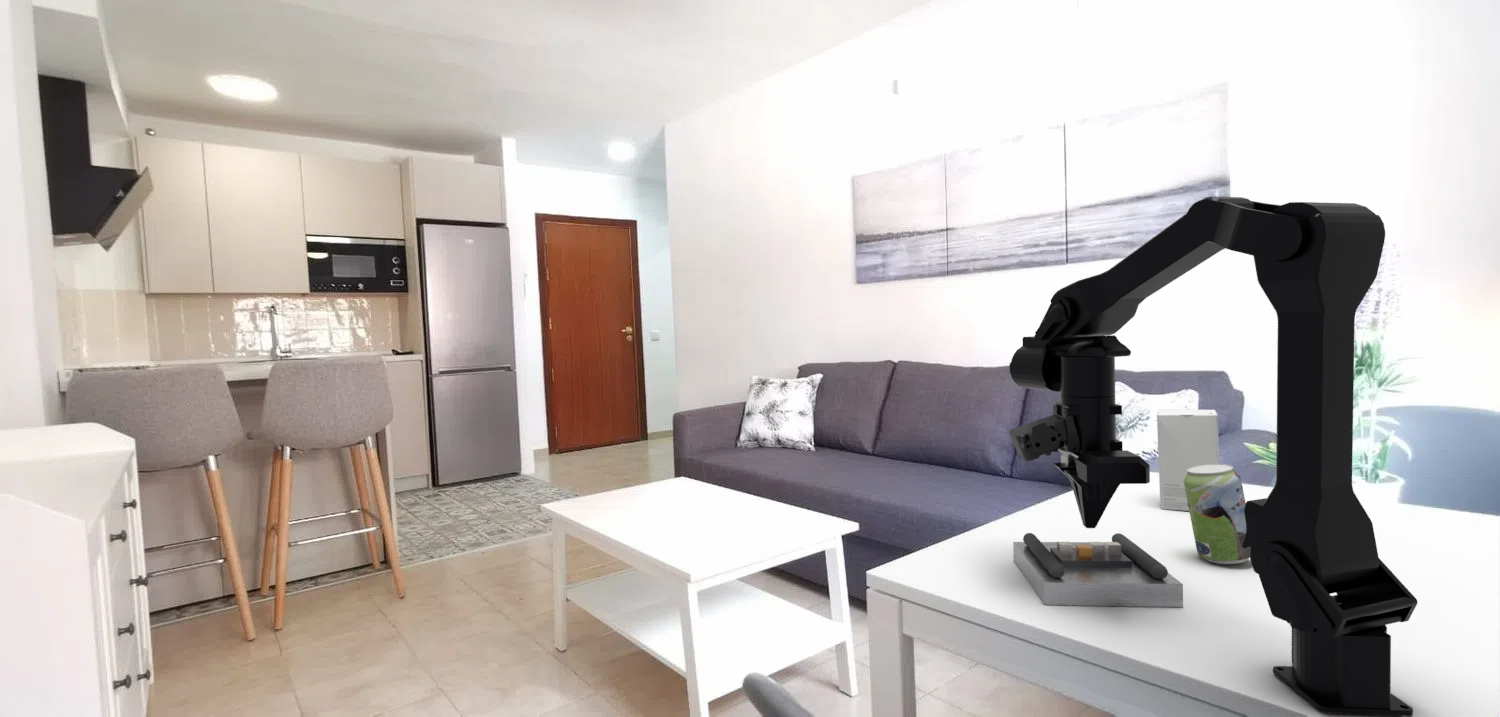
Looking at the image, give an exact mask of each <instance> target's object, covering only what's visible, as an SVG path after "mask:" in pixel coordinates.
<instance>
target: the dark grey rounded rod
mask: <svg viewBox="0 0 1500 717" xmlns="http://www.w3.org/2000/svg"><path fill="white" fill-rule="evenodd" d="M1111 542H1118V543H1119V544H1120V545H1121V550H1122V551H1123V552H1124V553H1125V554H1127V555H1128V556H1129V557H1130V558H1132V559H1133V560H1134V561H1135V562H1136V563H1138V564H1139V565H1140V566H1141V567H1143V568H1144V569H1145V570H1146V571H1147V572H1149V573H1150V574H1151V575H1152V576H1154V577H1155V578H1157V579H1164V578H1166V577H1167V575H1168V573H1169V571H1168V569H1167V567H1166V566H1165V565H1164V564H1162V563H1161V562H1160V561H1158V560H1157V559H1156V558H1154V557H1153V556H1152V555H1151V554H1149V553H1148V552H1147V551H1145V550H1143V549H1142V548H1141V547H1140V546H1138V545H1137V544H1136V543H1134V541H1132V540H1131V539H1129V538H1128V537H1127V536H1126V535H1124V534H1123V533H1118V532H1117V533H1114V534H1113V535H1112V537H1111Z"/></svg>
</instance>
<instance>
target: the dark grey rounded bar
mask: <svg viewBox="0 0 1500 717" xmlns="http://www.w3.org/2000/svg"><path fill="white" fill-rule="evenodd" d="M1022 538H1023V539H1022V540H1023V541H1022V542H1024V543H1025V544H1026V545H1027V546H1028V548H1029V549H1030V550H1031V551H1032V552H1033V554H1034V555H1035V556H1036V557H1037V559H1038V560H1039V561H1040V562H1041V563H1042V565H1043V566H1044V567H1045V568H1046V570H1047V571H1048V572H1049V573H1050V574H1051V575H1052V576H1053V577H1055V578H1060V577H1062V576H1063V575H1064V572H1065V570H1064V567H1063V566H1062V565H1061V564H1060V563H1059V562H1058V560H1057V559H1056V558H1055V557H1054V556H1053V555H1052V554H1051V553H1050V552H1049V550H1048V549H1047V548H1046V547H1045V546H1044V545H1043V544H1042V543H1041V542H1042V541H1041V540H1040V539H1039V538H1038V537H1037V536H1036V535H1035V534H1034V533H1031V532H1028V533H1027V532H1026V533H1025V534H1024V536H1023V537H1022Z"/></svg>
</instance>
